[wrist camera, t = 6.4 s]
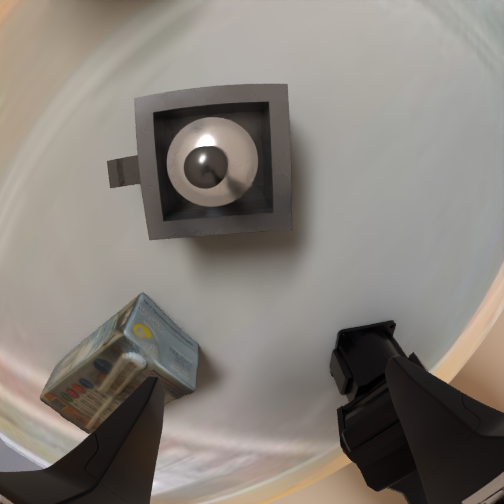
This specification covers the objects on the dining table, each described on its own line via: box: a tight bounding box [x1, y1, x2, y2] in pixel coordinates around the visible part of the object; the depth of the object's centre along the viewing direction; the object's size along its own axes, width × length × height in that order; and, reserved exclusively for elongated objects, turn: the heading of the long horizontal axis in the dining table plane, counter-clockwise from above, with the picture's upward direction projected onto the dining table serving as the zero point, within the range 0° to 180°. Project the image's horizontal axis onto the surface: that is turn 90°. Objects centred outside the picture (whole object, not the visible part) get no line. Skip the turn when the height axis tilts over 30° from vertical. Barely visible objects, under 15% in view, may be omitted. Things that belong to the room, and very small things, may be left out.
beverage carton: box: [40, 293, 199, 434], centre depth 22 cm, size 8×19×7 cm, turn 126°
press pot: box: [107, 84, 292, 240], centre depth 16 cm, size 10×8×5 cm
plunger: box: [167, 117, 258, 207], centre depth 13 cm, size 5×5×9 cm
